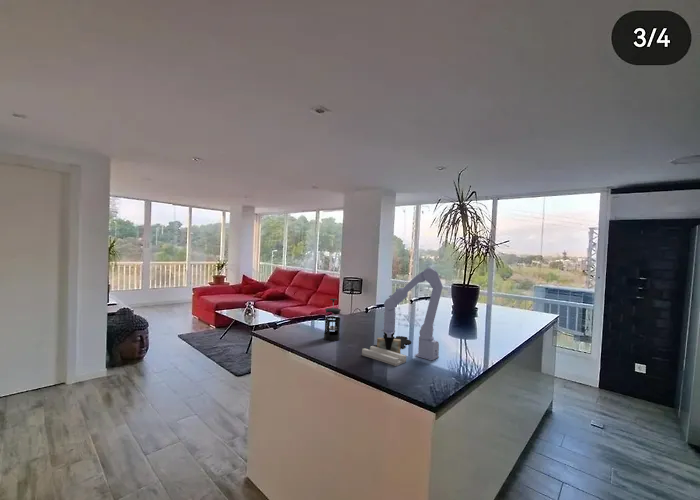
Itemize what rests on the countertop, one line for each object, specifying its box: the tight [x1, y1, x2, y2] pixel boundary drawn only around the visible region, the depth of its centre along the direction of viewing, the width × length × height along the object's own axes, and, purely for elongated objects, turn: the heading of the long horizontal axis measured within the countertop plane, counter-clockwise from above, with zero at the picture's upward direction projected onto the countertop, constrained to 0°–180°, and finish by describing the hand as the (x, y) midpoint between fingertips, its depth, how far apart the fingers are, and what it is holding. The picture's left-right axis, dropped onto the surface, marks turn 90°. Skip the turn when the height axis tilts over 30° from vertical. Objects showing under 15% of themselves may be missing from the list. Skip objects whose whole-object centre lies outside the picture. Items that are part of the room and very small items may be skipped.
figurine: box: [372, 335, 412, 350], centre depth 183 cm, size 16×1×30 cm
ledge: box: [361, 345, 407, 367], centre depth 156 cm, size 20×8×3 cm, turn 48°
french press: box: [323, 298, 342, 342], centre depth 187 cm, size 12×9×23 cm
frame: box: [376, 336, 401, 354], centre depth 168 cm, size 12×3×6 cm, turn 83°
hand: (388, 347), depth 168 cm, fingers open, 5 cm apart
